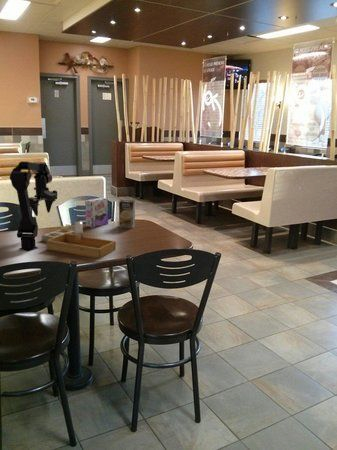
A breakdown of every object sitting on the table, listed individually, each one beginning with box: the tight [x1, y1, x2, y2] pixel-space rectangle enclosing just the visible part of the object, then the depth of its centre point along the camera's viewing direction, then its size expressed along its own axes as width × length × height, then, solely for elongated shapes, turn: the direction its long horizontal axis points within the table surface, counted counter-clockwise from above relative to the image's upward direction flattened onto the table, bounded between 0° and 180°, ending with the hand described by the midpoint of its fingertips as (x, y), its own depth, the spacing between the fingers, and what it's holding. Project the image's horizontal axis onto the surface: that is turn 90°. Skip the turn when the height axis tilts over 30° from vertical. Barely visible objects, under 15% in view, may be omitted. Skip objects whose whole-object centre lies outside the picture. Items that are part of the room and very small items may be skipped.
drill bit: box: [73, 221, 84, 241], centre depth 201 cm, size 4×4×9 cm
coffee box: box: [118, 199, 136, 229], centre depth 247 cm, size 9×6×16 cm
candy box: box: [84, 197, 109, 229], centre depth 250 cm, size 14×6×16 cm, turn 143°
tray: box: [46, 233, 117, 259], centre depth 202 cm, size 31×15×6 cm, turn 67°
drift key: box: [60, 226, 71, 232], centre depth 226 cm, size 2×5×5 cm, turn 64°
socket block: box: [41, 228, 75, 242], centre depth 222 cm, size 16×10×3 cm, turn 154°
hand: (42, 214), depth 221 cm, fingers open, 9 cm apart
